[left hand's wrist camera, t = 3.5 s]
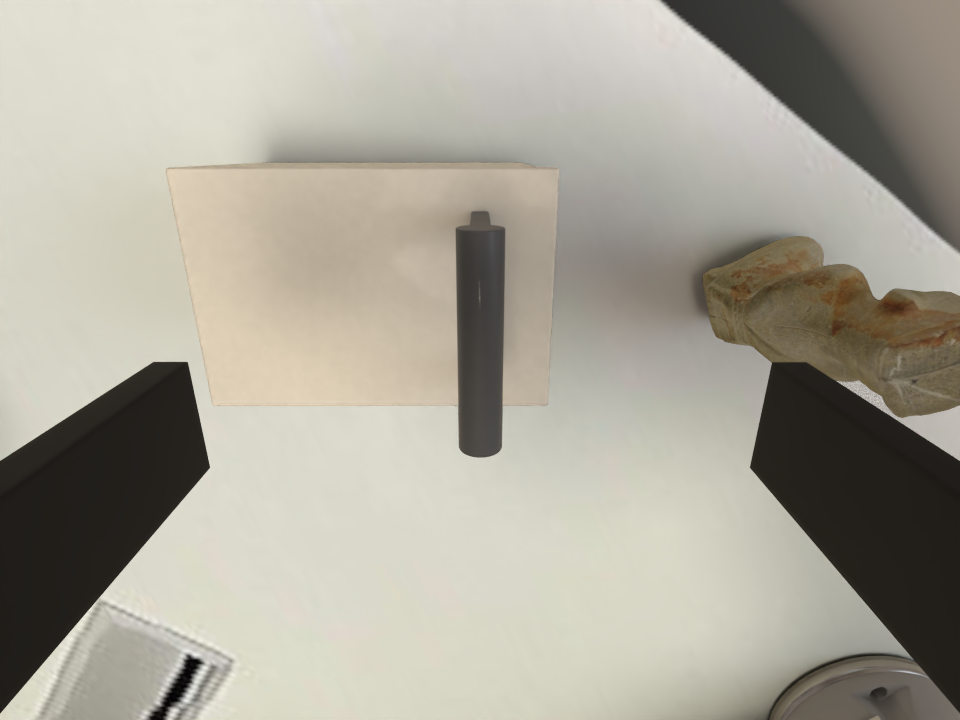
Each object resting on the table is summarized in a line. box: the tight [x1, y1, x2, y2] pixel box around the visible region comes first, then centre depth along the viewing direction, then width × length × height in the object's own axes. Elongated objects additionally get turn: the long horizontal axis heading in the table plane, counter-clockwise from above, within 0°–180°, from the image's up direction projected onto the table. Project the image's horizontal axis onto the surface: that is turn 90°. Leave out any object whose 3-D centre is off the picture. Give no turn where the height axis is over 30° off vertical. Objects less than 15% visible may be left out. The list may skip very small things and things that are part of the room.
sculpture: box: [703, 236, 960, 418], centre depth 26 cm, size 6×7×15 cm
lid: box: [166, 167, 560, 457], centre depth 20 cm, size 15×10×8 cm, turn 90°
